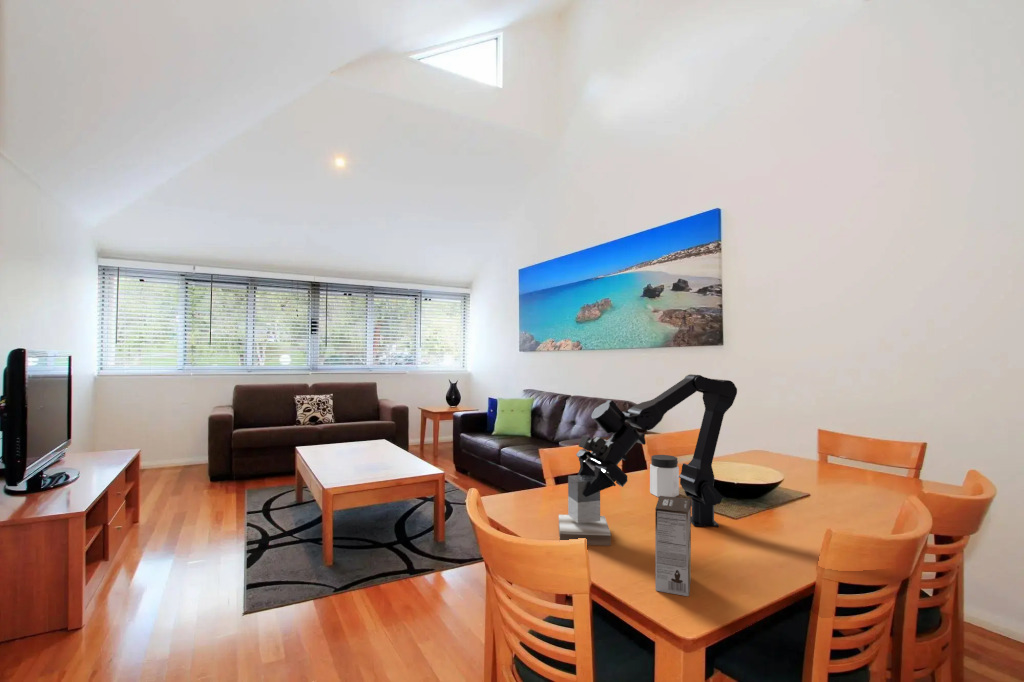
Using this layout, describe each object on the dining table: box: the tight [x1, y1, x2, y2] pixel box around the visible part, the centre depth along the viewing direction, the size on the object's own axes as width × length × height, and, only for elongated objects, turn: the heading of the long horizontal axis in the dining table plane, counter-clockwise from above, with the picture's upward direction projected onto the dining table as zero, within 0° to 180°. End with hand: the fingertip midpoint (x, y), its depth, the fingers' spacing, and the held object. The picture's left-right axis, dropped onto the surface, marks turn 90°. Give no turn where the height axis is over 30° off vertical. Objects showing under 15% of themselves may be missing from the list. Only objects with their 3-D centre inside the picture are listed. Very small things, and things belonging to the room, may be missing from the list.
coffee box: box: [654, 496, 692, 597], centre depth 96 cm, size 9×6×16 cm
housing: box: [567, 474, 601, 523], centre depth 122 cm, size 6×6×10 cm
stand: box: [558, 513, 612, 547], centre depth 121 cm, size 12×12×3 cm
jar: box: [649, 454, 680, 498], centre depth 157 cm, size 9×8×12 cm
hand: (578, 492), depth 121 cm, fingers closed on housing, 6 cm apart
